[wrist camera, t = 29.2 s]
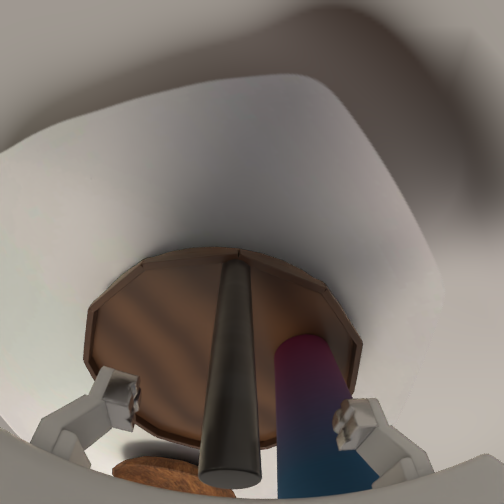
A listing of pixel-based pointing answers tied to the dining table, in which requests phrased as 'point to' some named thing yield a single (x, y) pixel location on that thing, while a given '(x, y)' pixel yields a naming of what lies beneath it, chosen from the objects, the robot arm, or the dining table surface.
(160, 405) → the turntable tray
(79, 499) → the robot arm
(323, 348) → the cup
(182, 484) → the bowl
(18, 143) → the dining table surface
